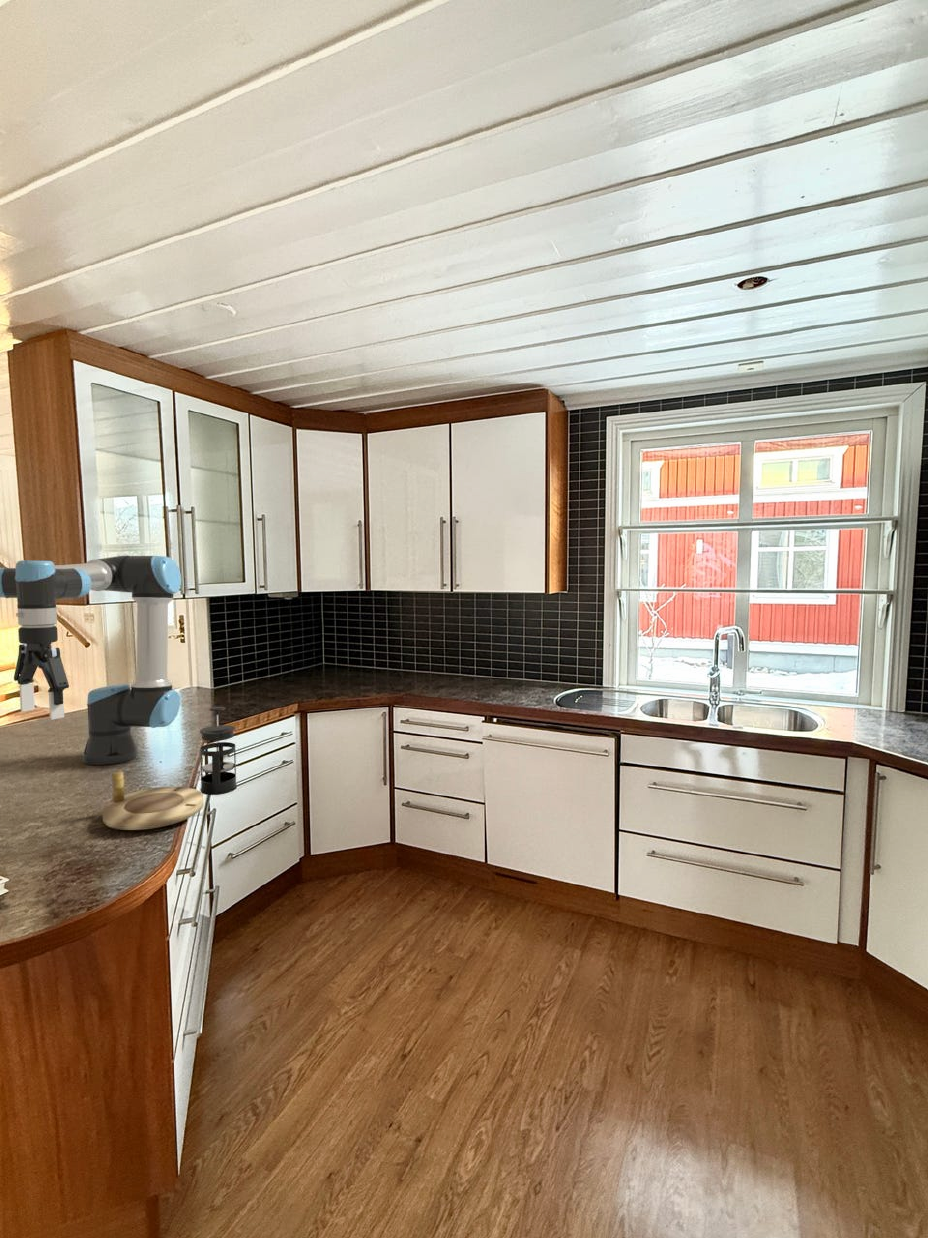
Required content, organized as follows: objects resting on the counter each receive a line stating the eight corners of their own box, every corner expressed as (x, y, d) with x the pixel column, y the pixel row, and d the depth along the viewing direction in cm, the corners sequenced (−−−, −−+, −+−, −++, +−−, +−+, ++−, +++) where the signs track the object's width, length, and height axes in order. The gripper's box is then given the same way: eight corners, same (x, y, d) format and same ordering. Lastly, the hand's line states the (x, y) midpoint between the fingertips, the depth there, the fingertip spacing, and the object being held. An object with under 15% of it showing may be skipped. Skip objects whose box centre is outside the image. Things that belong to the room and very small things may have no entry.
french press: (203, 783, 170) (201, 704, 168) (238, 780, 173) (237, 702, 171) (197, 799, 159) (195, 713, 157) (235, 795, 161) (233, 711, 160)
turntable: (220, 796, 157) (219, 763, 156) (168, 833, 135) (167, 794, 135) (142, 791, 160) (141, 758, 159) (80, 826, 138) (78, 788, 137)
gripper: (-6, 624, 144) (-2, 710, 146) (47, 630, 132) (52, 725, 134) (29, 621, 151) (33, 704, 152) (83, 627, 138) (87, 718, 140)
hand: (42, 714), depth 143 cm, fingers open, 13 cm apart
